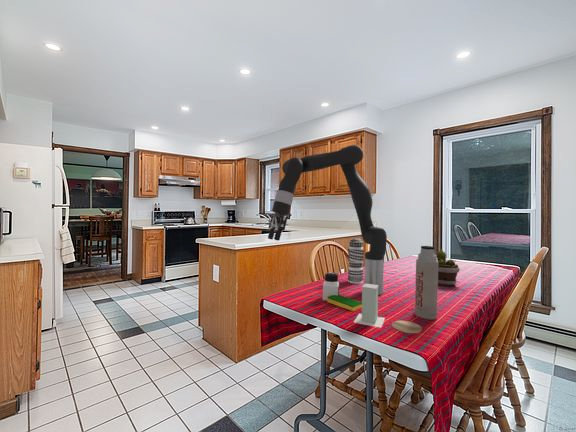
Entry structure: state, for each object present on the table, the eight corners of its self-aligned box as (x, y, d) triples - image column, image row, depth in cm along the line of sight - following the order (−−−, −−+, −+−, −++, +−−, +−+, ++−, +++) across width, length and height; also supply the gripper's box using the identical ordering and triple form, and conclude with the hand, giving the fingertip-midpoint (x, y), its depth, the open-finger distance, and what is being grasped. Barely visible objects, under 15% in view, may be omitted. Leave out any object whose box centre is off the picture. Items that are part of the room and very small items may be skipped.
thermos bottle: (421, 319, 110) (423, 247, 109) (410, 312, 117) (412, 244, 116) (441, 319, 110) (443, 247, 109) (429, 311, 118) (431, 244, 117)
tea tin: (364, 316, 111) (364, 283, 111) (377, 318, 109) (378, 285, 109) (361, 321, 107) (361, 286, 106) (375, 323, 104) (376, 288, 104)
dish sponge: (336, 298, 132) (336, 293, 132) (362, 307, 122) (362, 302, 122) (326, 302, 127) (326, 296, 127) (353, 311, 117) (353, 306, 117)
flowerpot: (465, 287, 154) (466, 251, 154) (437, 287, 155) (438, 251, 154) (450, 280, 169) (451, 247, 168) (424, 280, 169) (425, 247, 168)
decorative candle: (347, 283, 160) (348, 239, 160) (346, 279, 170) (347, 237, 169) (364, 284, 159) (365, 239, 158) (362, 280, 168) (363, 238, 167)
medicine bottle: (338, 301, 129) (338, 275, 129) (322, 300, 131) (323, 274, 130) (338, 296, 136) (339, 272, 136) (323, 295, 138) (324, 271, 137)
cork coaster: (393, 320, 109) (393, 318, 109) (422, 325, 104) (422, 323, 104) (390, 330, 100) (390, 328, 100) (421, 336, 95) (421, 334, 95)
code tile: (359, 314, 115) (359, 313, 115) (385, 318, 110) (385, 317, 110) (353, 323, 106) (353, 322, 106) (381, 328, 101) (381, 327, 101)
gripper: (297, 204, 116) (287, 242, 114) (284, 206, 130) (275, 240, 128) (280, 199, 114) (270, 238, 112) (269, 201, 127) (260, 236, 125)
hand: (273, 239), depth 120 cm, fingers open, 8 cm apart
